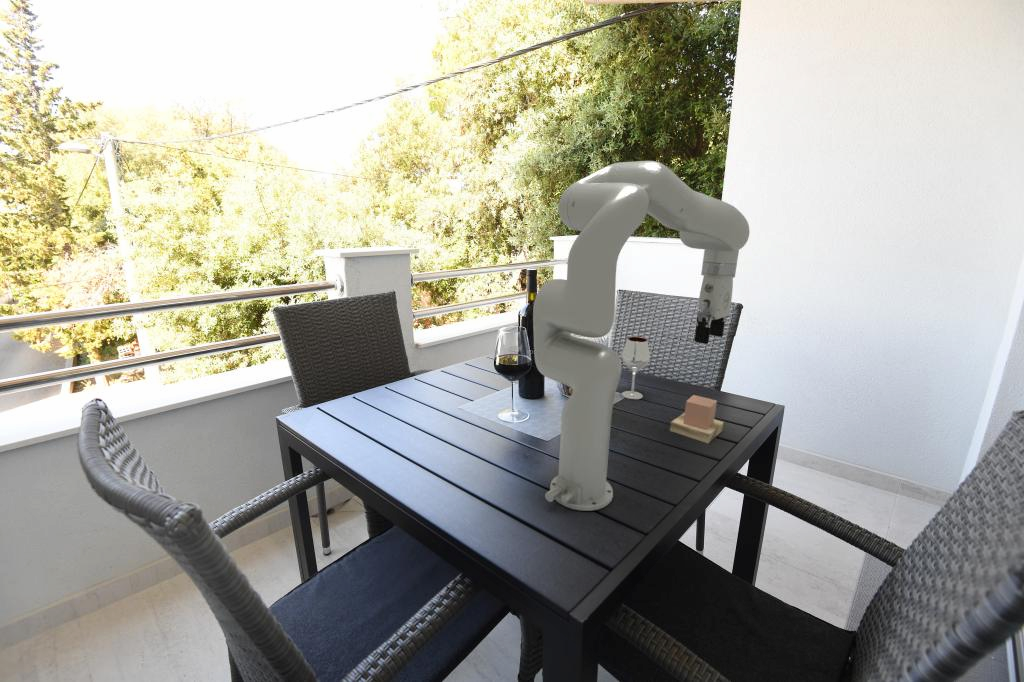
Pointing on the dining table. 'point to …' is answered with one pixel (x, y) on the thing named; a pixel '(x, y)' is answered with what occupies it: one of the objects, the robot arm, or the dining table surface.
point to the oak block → (696, 429)
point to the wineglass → (635, 361)
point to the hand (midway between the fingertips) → (708, 339)
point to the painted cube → (700, 412)
